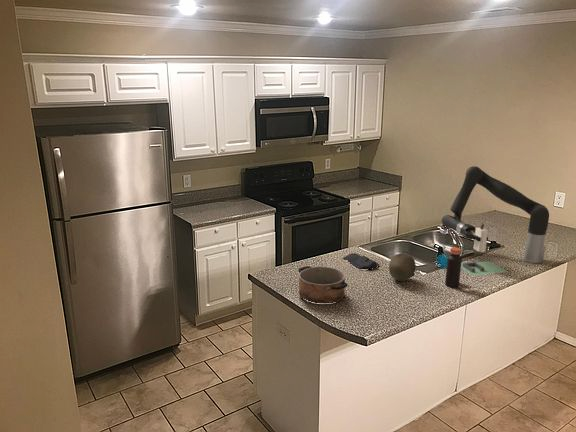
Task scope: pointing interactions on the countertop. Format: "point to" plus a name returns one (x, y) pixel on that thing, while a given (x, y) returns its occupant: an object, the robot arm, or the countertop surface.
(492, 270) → the board
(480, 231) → the plug
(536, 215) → the robot arm
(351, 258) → the dark blue flat piece
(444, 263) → the gear
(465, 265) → the header
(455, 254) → the bottle
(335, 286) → the cooking pot
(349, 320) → the countertop surface
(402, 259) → the cantaloupe
